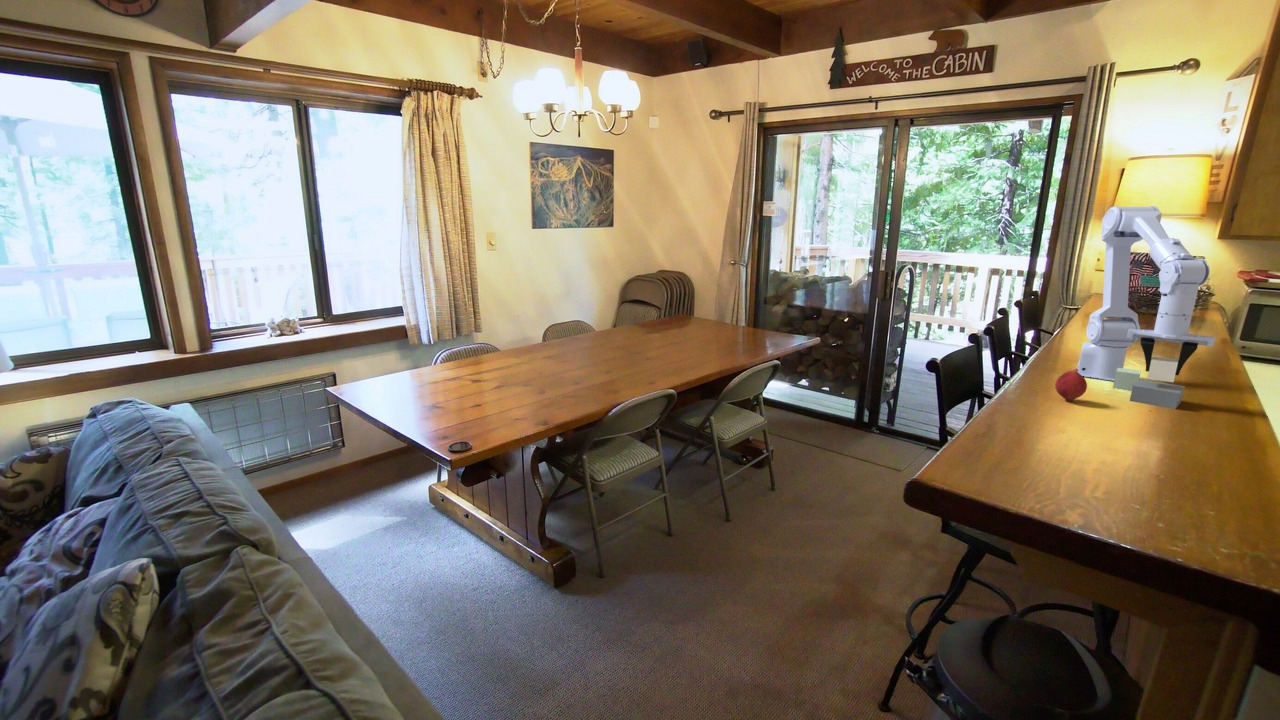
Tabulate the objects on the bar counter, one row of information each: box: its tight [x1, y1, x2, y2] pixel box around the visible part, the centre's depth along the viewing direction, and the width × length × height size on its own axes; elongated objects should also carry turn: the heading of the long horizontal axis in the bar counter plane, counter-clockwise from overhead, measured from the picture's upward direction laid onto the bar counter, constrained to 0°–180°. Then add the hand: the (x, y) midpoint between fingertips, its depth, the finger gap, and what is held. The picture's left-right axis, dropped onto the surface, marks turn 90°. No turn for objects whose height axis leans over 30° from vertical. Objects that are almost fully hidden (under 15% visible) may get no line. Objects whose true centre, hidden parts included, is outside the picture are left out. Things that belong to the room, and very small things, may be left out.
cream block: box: [1146, 355, 1179, 383], centre depth 132 cm, size 4×4×4 cm
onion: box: [1054, 367, 1088, 402], centre depth 134 cm, size 6×6×8 cm
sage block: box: [1112, 367, 1142, 392], centre depth 144 cm, size 4×4×4 cm
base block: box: [1129, 378, 1186, 410], centre depth 134 cm, size 8×8×4 cm
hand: (1161, 372), depth 133 cm, fingers closed on cream block, 4 cm apart
